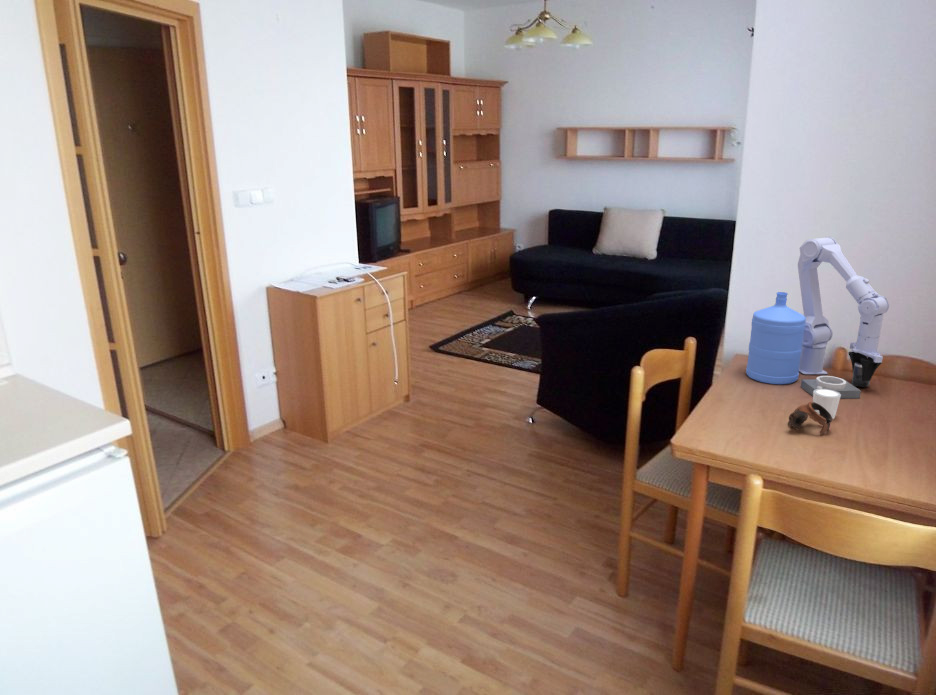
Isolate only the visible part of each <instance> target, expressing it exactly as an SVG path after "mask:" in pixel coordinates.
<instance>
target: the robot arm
mask: <svg viewBox="0 0 936 695" xmlns="http://www.w3.org/2000/svg"><path fill="white" fill-rule="evenodd" d="M799 253H800V254H799V256H798V257H799V258H798V262H797V271H798V279H799V286H800V287H799V288H800V294H801V295H800V296H801V303H802V312H803V315H804V316H805V318H806V321H805V323H806V325H805V331H804V336H803V342H802V352H801V357H800V364H799V373H801V374H802V375H828V374H829V373H828V372H827V371H826V370H824V369H823V368H824V362H825V355H826V350H827V345H828V342H830V341H831V340H832V339H833V334H834V333H833V330H832V328H831V326H830V324H829V319H828V318H826V317H825V316H824V314H823V313H824V312H823V308H822V297H821V291H820V283H819V275H818V267H819V266H821V264H822V263H823V262H824V263H829V264H830V265H831V266H832V267H833V269H835V271H837V273H838V274H839V275H840V276H841V277H842V279H843V280H844V281H845V282H846V286H845V289H846V290H847V291H848V292H849V294H850V295H851V296H852V298H853V299H854V300H855V302H856V303H857V304H858V305H857V310H858V312H859V315H860V318H859V319H860V321H859V327H858V332H857V337H856V338H857V339H856V342H854V341H853V342H850V345H849V349H850V350H851V351H849V352H848V356H849V358H850V361H851V368H852V372H853V371H854V364H855V361H861V363H862V380H863V381H870V382H871V380H872V378H873V375H874V374H875V372H876V370H877V369H878V367H879V366H881V365H882V364H883V358H884V357H883V355H881V354H880V352H879V350H878V346H879V341H880V337H881V336H880V335H881V329H882V326H883V325H882V324H883V320H884V319H883V318H884V314H886V313H887V312H888V310H889V308H890V303H889V300H887V297H886V296H884V295H880V294H879V293H878V292H877V291H875V288H873V287H872V286H871V284H870V283H869V282H870V280H869V279H868V278H866V277H864V276H862V275H858V274H857V273H856V271H855V270H854V268H853V266H852V265H851V264H850V262H849V261H848V259H847V258H846V256H845V255H844V254H843V252H842V247H841V245H840V244H839V243H837V240H836V239H835V238H834V237H831V236H825V237H819V238H808V239H806V240H805V241H804V242H803V243H802V245H801V246H800V247H799Z"/></svg>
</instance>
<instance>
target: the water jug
mask: <svg viewBox="0 0 936 695" xmlns="http://www.w3.org/2000/svg"><path fill="white" fill-rule="evenodd" d="M788 295H789V294H788V293H787V292H783V291H782V292H781V291H777V292H776V298H775V304H774V305H771V306H768V307H765V308H762V309H759V310H756V311H754V312H753V315H752V319H751V330H750V339H749V343H748V356H747V365H746V368H745V373H746V375H747V376H748V377H749V378H750V379H752V380H754V381H757V382H760V383H763V384H770V385H789V384H790V385H791V384H793V383H795V382H796V381H798V379H799V376H800V371H799V364H800V357H801V352H802V342H803V336H804V331H805V325H806V323H805V321H806V318H805V316H804V314H802V313H801V312H798V311H796V310H794V309H792V308H791V307H789V306H788V305H787V301H788V298H787V297H788Z"/></svg>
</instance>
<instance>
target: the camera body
mask: <svg viewBox="0 0 936 695" xmlns="http://www.w3.org/2000/svg"><path fill="white" fill-rule="evenodd" d="M800 380H801V381H800V388H801V389H802V390H804V391H805V392H806V393H808V394H809V395H810V396H811V397H813V391H814V390H816V389H829V390H833V391H837V392H839V393H840V394H841V397H840V400H841V399H843V400H845V399H860V397H861V392H862V390H860V389H859V388H857V387H856V386H855V385H853V384H852V383H850V382H849V381H847V380H845V378H840V377H837V376H833V375H819V376H817V377H816V378H814V379H813V378H812V379H800Z"/></svg>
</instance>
